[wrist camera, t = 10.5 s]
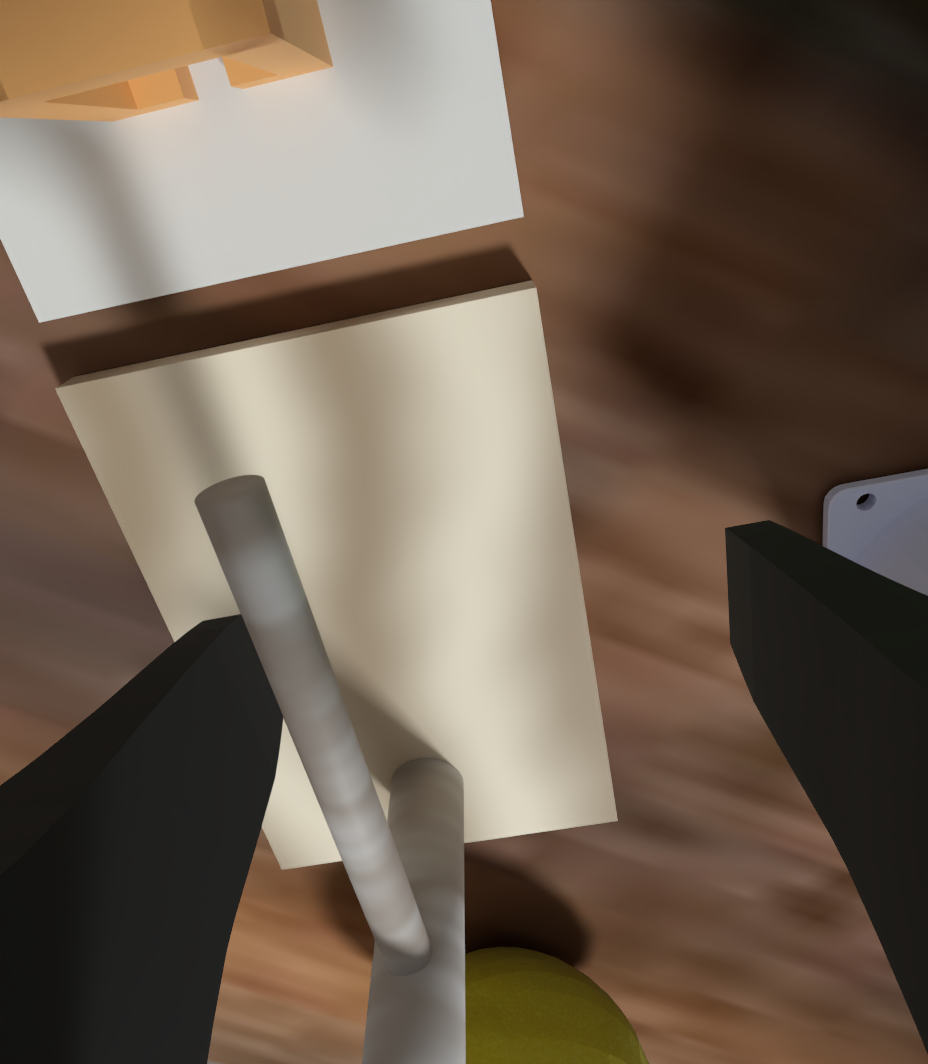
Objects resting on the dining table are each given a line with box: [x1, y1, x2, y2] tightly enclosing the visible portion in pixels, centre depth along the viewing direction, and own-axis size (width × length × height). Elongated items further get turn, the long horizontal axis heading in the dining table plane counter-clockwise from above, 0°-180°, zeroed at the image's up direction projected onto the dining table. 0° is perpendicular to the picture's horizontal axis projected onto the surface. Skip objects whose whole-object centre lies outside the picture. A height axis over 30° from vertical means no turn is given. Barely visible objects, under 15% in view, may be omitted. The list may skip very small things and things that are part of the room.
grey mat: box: [0, 0, 524, 323], centre depth 16 cm, size 12×9×1 cm
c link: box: [0, 0, 333, 122], centre depth 13 cm, size 5×2×6 cm, turn 102°
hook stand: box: [55, 280, 618, 1064], centre depth 19 cm, size 12×18×10 cm, turn 11°
